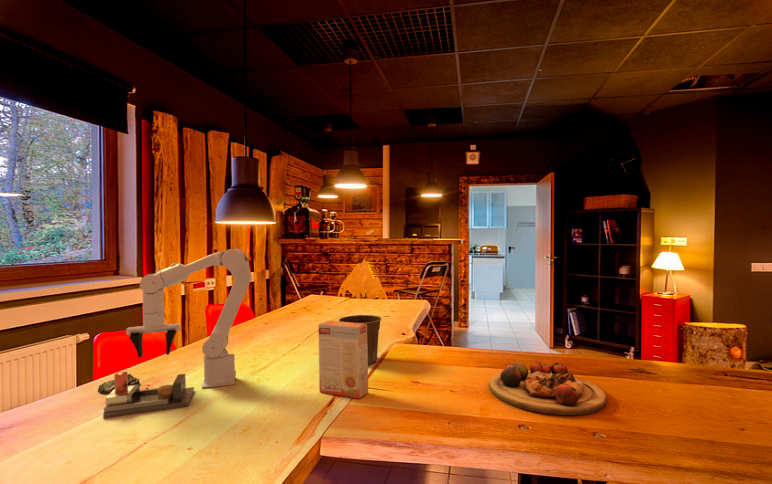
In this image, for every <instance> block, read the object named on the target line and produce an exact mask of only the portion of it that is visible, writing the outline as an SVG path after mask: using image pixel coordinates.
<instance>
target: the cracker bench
mask: <svg viewBox="0 0 772 484" xmlns="http://www.w3.org/2000/svg"><path fill="white" fill-rule="evenodd" d="M186 382H187V381H186V373H180V374H177V375H176V377H175V380H174V382H173V383H172V385H173V398H171V399H169V398H168V399H160V400H158V388H159V387H155V388H148V389H140V395H139V397H138V398H137V400H136V401H135V402H134V403H129V404H122V405H114V406H106V405H105V406H104V408H103V415H102V417H103V419H106V418H114V417H121V416H128V415H129V416H130V415H136V414H141V413H142V414H144V413H150V412H157V411H165V410H170V409H179V408H187V407H189V405H190V403H191V400H192V398H193V394H194V391H195V387H194V386H191V387H187V384H186Z"/></svg>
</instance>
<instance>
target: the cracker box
mask: <svg viewBox="0 0 772 484" xmlns="http://www.w3.org/2000/svg"><path fill="white" fill-rule="evenodd" d="M368 365H369V364H368V348H367V324H363V323H350V322H339V321H337V320H335V321H333V320H326V321H324V322H320V323H319V324H318V372H319V373H318V375H319V376H318V377H319V378H318V379H319V381H318V382H319V385H318V387H319V393H323V394H329V395H334V396H335V395H336V396H341V397H346V398H353V399H357V400H358V399H359V400H360V399H361V398H362V397H364V396H365V395H366V394H368V393H369V369H368V368H369V366H368Z"/></svg>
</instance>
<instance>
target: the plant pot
mask: <svg viewBox="0 0 772 484" xmlns="http://www.w3.org/2000/svg"><path fill="white" fill-rule="evenodd" d="M381 321H382V317H380V316H378V315H372V314H371V315H370V314H359V315H358V314H356V315H347V316H343V317H341V318H338V322H350V323H363V324H367V348H368V365H371V364H374V363H375V362H377V361H378V345H379V335H380V334H379V330H380V328H381Z"/></svg>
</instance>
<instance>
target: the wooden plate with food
mask: <svg viewBox="0 0 772 484" xmlns="http://www.w3.org/2000/svg"><path fill="white" fill-rule="evenodd" d="M488 386H489V391H491V393H492V394H493V395H494V397H496V398H497V399H499V400H501V401H503V402H504V403H506V404H509V405H510V406H514V407H516V408H519V409H523V410H526V411H527V410H528V411H531V412H536V413H542V414H547V415H548V414H549V415H556V416H557V415H558V416H578V415H587V414H591V413H592V414H593V413H595V412H597V411H600V410H602V409H603V408H604V407H605V406H606V404H607V402H608V397H607V395H606V393H605V392H604V390H603V389H602V388H600V386H598V385H595V384H594V383H592V382H590V381H587V380H585V379H582V378H579V377H577V376H575V375H574V373H571V372H570V373H569V369H568V367H567V366H566V364H563V363H561V362H555V363H553V364H552V365H547V364H546V363H542V364H541V362H538V361H534V362H532V363H530V366H529V369H528V367H527V366H526V364H525V363H523V362H521V361H520V360H519V359H518V360H516V361H515V362H513V363H512V364H510V365H509V366H507V367H506V368H504V369H503V370H502V371H501V372H500V373H498V374H496V375H494V376H493V377H491V379H490V380H489V383H488Z"/></svg>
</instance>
